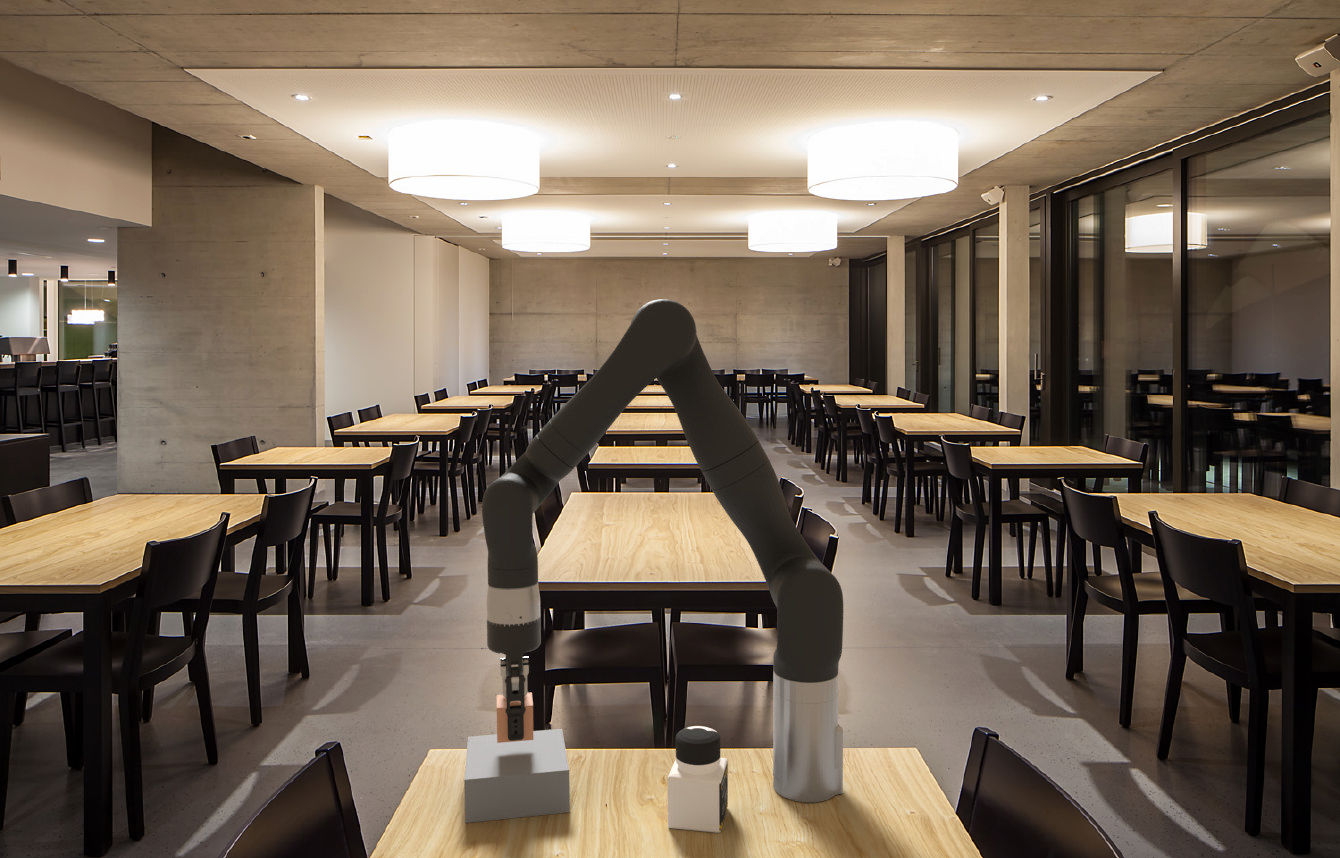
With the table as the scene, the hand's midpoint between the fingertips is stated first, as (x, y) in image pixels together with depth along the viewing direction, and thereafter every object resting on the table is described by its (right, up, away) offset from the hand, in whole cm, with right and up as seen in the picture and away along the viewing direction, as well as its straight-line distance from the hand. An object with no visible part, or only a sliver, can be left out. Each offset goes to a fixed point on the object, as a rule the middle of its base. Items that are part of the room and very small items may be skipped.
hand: (515, 730), depth 125 cm
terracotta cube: (0, 0, 0) cm, 0 cm away
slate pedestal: (0, -9, +1) cm, 9 cm away
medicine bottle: (+26, -10, -6) cm, 29 cm away
